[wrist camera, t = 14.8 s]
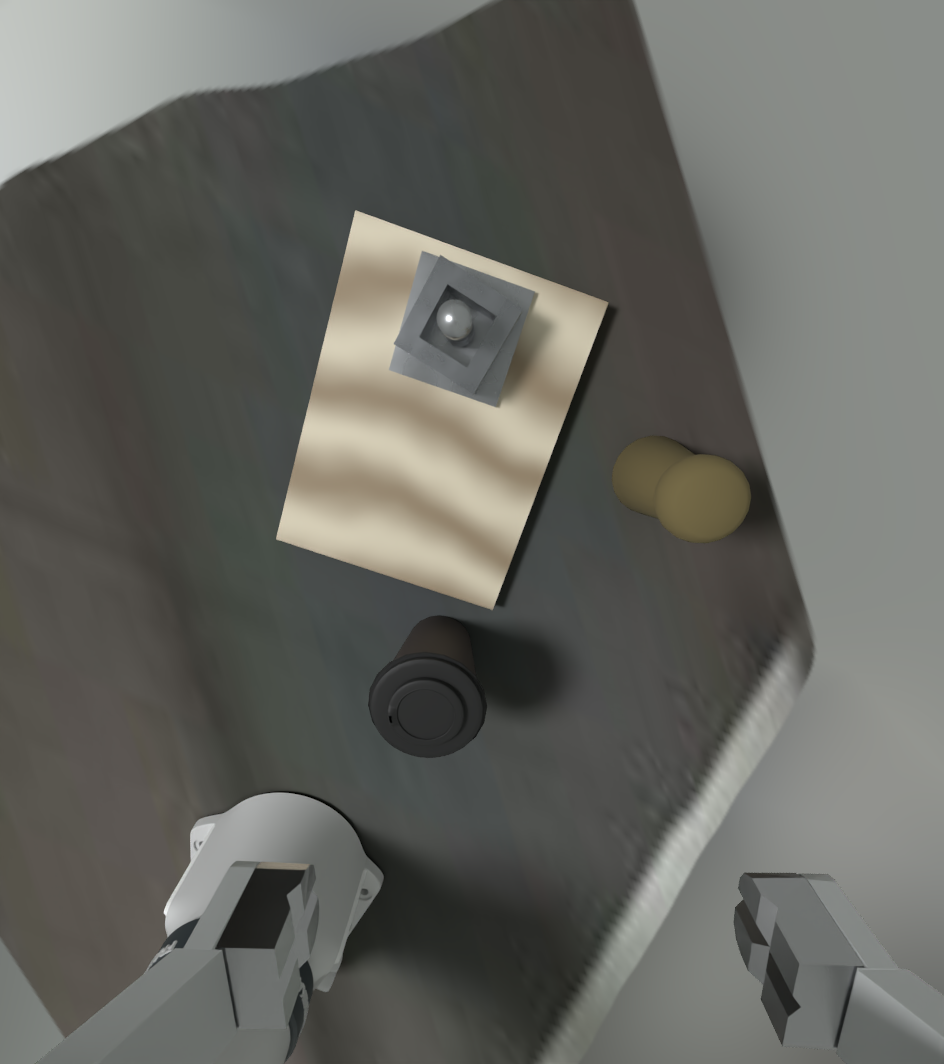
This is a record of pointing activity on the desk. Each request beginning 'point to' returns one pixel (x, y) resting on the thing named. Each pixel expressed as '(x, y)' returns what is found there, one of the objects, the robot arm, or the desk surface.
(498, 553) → the board
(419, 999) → the desk surface
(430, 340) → the post
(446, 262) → the link
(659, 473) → the cork
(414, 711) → the coffee cup
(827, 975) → the robot arm
